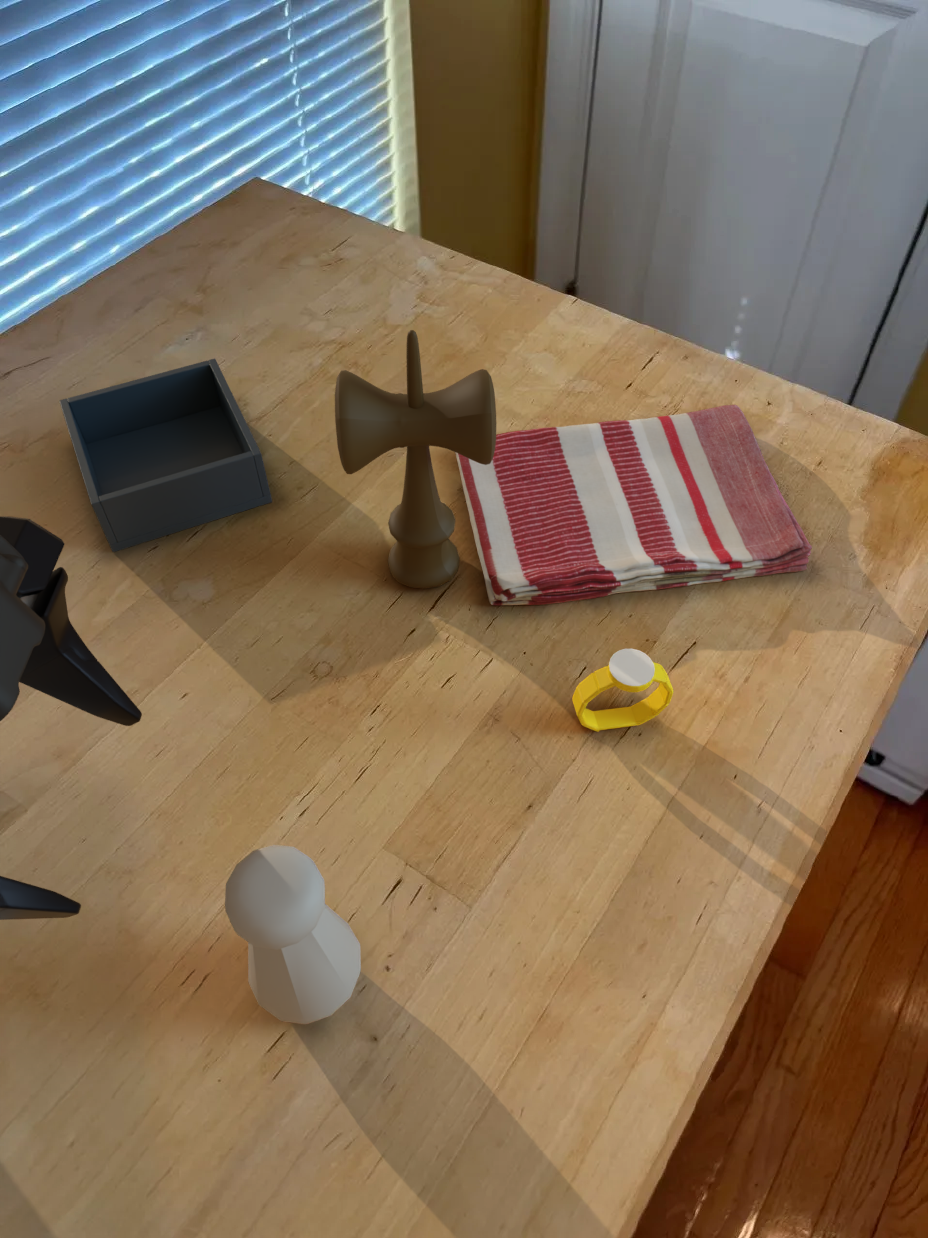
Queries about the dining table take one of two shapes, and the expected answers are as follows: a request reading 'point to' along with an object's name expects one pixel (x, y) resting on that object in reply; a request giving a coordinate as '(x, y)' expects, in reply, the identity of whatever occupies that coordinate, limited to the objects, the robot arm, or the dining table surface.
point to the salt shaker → (291, 935)
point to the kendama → (417, 456)
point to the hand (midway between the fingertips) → (107, 809)
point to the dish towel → (628, 508)
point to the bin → (165, 454)
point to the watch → (628, 675)
